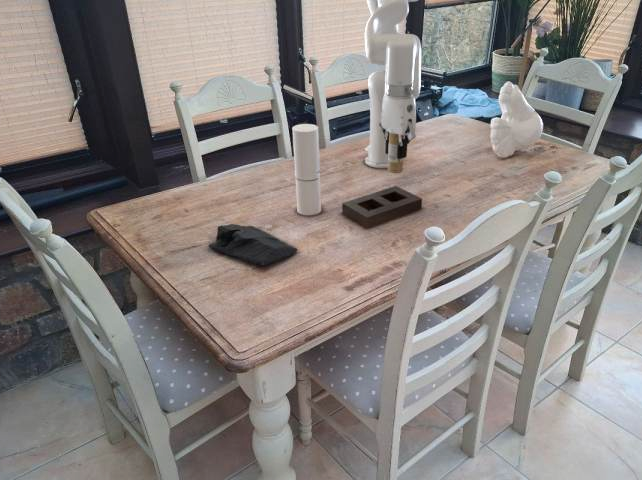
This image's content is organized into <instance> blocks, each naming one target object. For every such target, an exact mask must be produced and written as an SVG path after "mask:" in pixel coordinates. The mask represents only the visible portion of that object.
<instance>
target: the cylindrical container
mask: <svg viewBox="0 0 642 480" xmlns="http://www.w3.org/2000/svg"><path fill="white" fill-rule="evenodd" d="M291 129H292V146H293V161H294V163H293V164H294V179H295V180H294V181H295V193H296V196H295V197H296V208H297V209H296V210H297V213H298V214H299V215H303V216H316V215H318V214H320V213H321V212H322V199H321V198H322V197H321V169H320V147H319V146H320V142H319V140H320V139H319V126H318V125H316V124H312V123H299V124H296V125H294V126H293V125H292V128H291Z"/></svg>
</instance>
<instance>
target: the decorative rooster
mask: <svg viewBox="0 0 642 480" xmlns="http://www.w3.org/2000/svg"><path fill="white" fill-rule="evenodd" d="M498 104H499V108H500V110H501V113H502V114H501V116H500V117H497V116H496V117H493V118H491V120H490V126H489V127H490V129H491V130H490V136H489V137H490V143H491V144H492V151H493V152H494V154H496V155H497V156H498V157H499V158H502V159H506V158H508V157H511V156H513V155H514V153H515V152H517V151H522V150H527V149H530V148H531V147H533V146H534V144H536V143H538V142H539V140H540V139H541V136H542V134H543V129H544V123H543V119H542V117H541V116H540V114H539V113H538V112H536V110H535V109H534V107H532V106H531V105H530V104H529V102H527V100H526V98H525V96H524V94H523V93H522V91H521V89H520V87H519V86H518V85H517V84H513V82H511V81H509V80H508V81H506V82H505V83H504V84H503V86H502V87H501V88H500V90H499V95H498Z"/></svg>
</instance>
